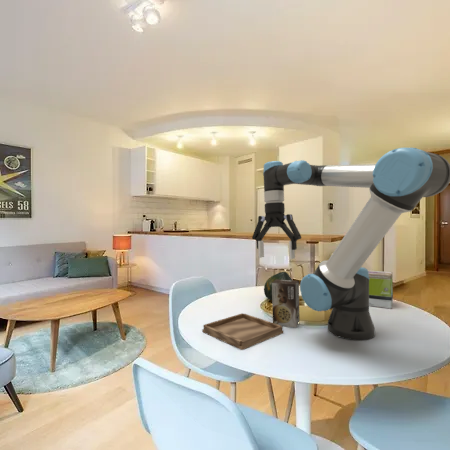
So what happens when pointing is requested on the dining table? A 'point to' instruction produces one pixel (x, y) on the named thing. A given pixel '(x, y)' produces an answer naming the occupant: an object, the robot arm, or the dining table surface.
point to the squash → (269, 282)
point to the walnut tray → (242, 330)
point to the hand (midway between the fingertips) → (276, 258)
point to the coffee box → (285, 302)
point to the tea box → (380, 289)
